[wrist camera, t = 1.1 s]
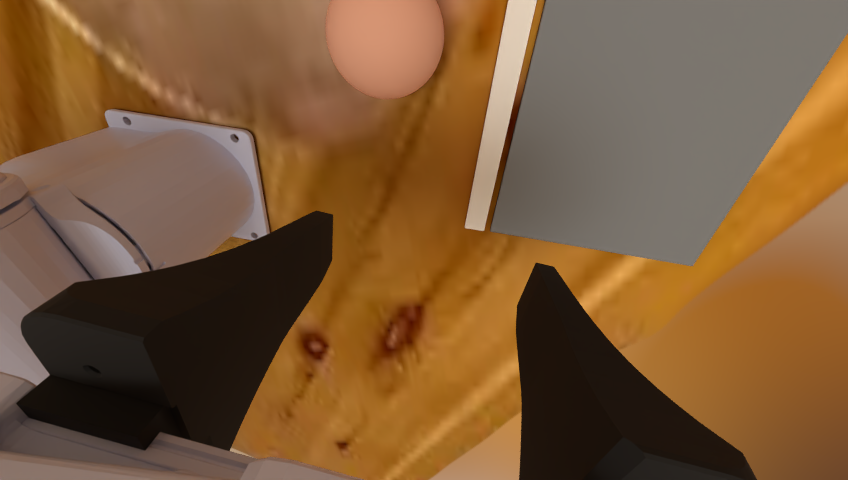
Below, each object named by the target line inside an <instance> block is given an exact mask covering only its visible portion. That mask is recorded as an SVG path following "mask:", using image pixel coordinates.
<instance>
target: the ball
mask: <svg viewBox="0 0 848 480" xmlns="http://www.w3.org/2000/svg"><path fill="white" fill-rule="evenodd" d="M326 40H327V45H328V49H329V52H330V55H331V58H332V60H333V62H334V64H335V66H336V68H337V69H338V71H339V72H340V74H341V75H342V76H343V77H344V78H345V80H346V81H347V82H348V83H349V84H351V85H352V86H353V87H354V88H356V89H357V90H359V91H360V92H362V93H364V94H366V95H369V96H371V97H375V98H379V99H396V98H401V97H404V96H407V95H409V94H411V93H413V92H415V91H417V90H418V89H419V88H421V87H422V86H423V85H424V84H425V83H426V82H427V81H428V80H429V79H430V77H431V76H432V75H433V73H434V71H435V70H436V68H437V65H438V63H439V61H440V58H441V54H442V51H443V45H444V25H443V19H442V15H441V11H440V8H439V6H438V3H437V1H436V0H331V1H330V4H329V7H328V11H327V15H326Z"/></svg>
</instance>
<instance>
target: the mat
mask: <svg viewBox="0 0 848 480" xmlns="http://www.w3.org/2000/svg"><path fill="white" fill-rule="evenodd" d="M536 2H537V0H508V4H507V9H506V14H505V19H504V24H503V30H502V35H501V40H500V45H499V50H498V56H497V61H496V66H495V71H494V76H493V82H492V87H491V92H490V97H489V103H488V108H487V113H486V118H485V123H484V129H483V134H482V139H481V144H480V149H479V155H478V160H477V165H476V170H475V175H474V181H473V186H472V191H471V196H470V201H469V207H468V212H467V217H466V222H465V228H468V229H474V230H480V231H484V229H485V224H486V220H487V215H488V211H489V207H490V202H491V198H492V194H493V189H494V185H495V181H496V176H497V172H498V168H499V163H500V159H501V155H502V150H503V146H504V142H505V137H506V133H507V128H508V124H509V120H510V115H511V111H512V107H513V102H514V98H515V94H516V89H517V85H518V81H519V76H520V72H521V68H522V63H523V59H524V55H525V50H526V46H527V42H528V37H529V33H530V28H531V24H532V20H533V15H534V11H535V7H536ZM847 33H848V0H545V4H544V8H543V12H542V16H541V20H540V24H539V29H538V33H537V37H536V41H535V45H534V49H533V53H532V58H531V62H530V66H529V70H528V74H527V78H526V83H525V87H524V91H523V95H522V99H521V103H520V107H519V112H518V116H517V120H516V124H515V128H514V132H513V136H512V141H511V145H510V149H509V153H508V157H507V161H506V166H505V170H504V174H503V178H502V182H501V186H500V190H499V195H498V199H497V203H496V207H495V211H494V215H493V220H492V224H491V228H490V231H491V232H497V233H502V234H508V235H514V236H520V237H526V238H532V239H537V240H543V241H549V242H555V243H561V244H566V245H572V246H578V247H584V248H590V249H596V250H601V251H607V252H613V253H619V254H625V255H631V256H636V257H642V258H648V259H654V260H660V261H666V262H671V263H677V264H683V265H689V266H693V265H694V263H695V262H696V260H697V259H698V257H699V256H700V254H701V252H702V251H703V249H704V248H705V246H706V245H707V243H708V242H709V240H710V239H711V237H712V236H713V234H714V233H715V231H716V230H717V228H718V227H719V225H720V224H721V222H722V221H723V219H724V218H725V216H726V215H727V213H728V212H729V210H730V209H731V207H732V206H733V204H734V203H735V201H736V200H737V198H738V197H739V195H740V194H741V192H742V191H743V189H744V188H745V186H746V185H747V183H748V182H749V180H750V179H751V177H752V176H753V174H754V173H755V171H756V170H757V168H758V167H759V165H760V164H761V162H762V161H763V159H764V158H765V156H766V155H767V153H768V152H769V150H770V149H771V147H772V146H773V144H774V143H775V141H776V140H777V138H778V137H779V135H780V134H781V132H782V131H783V129H784V128H785V126H786V125H787V123H788V122H789V120H790V119H791V117H792V116H793V114H794V113H795V111H796V110H797V108H798V107H799V105H800V104H801V102H802V101H803V99H804V98H805V96H806V95H807V93H808V92H809V90H810V89H811V87H812V86H813V84H814V83H815V81H816V80H817V78H818V77H819V75H820V74H821V72H822V71H823V69H824V68H825V66H826V65H827V63H828V62H829V60H830V59H831V57H832V56H833V54H834V53H835V51H836V50H837V48H838V47H839V45H840V44H841V42H842V41H843V39H844V38H845V36H846V35H847Z"/></svg>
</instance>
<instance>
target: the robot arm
mask: <svg viewBox="0 0 848 480" xmlns="http://www.w3.org/2000/svg"><path fill="white" fill-rule="evenodd" d="M105 118H106V120H107V123H108V125H109V127H108V128H105V129H102V130H99V131H96V132H93V133H90V134H86V135H83V136H80V137H77V138H74V139H71V140H68V141H65V142H62V143H59V144H55V145H52V146H49V147H46V148H43V149H40V150H37V151H34V152H31V153H28V154H24V155H21V156H18V157H15V158H13V159H11V160H9V161H6V162H5V163H3V164H1V165H0V480H363V479H360V478H356V477H352V476H349V475H345V474H342V473H338V472H334V471H331V470H327V469H323V468H320V467H316V466H313V465H309V464H305V463H302V462H298V461H294V460H289V459H282V458H276V457H268V458H263V459H256V458H252V457H248V456H245V455H241V454H237V453H234V452H230V448H231V446H232V444H233V442H234V439H235V437H236V435H237V433H238V430H239V428H240V426H241V423H242V421H243V419H244V417H245V415H246V413H247V411H248V409H249V406H250V404H251V402H252V400H253V398H254V396H255V394H256V392H257V390H258V388H259V386H260V384H261V382H262V380H263V378H264V376H265V374H266V372H267V370H268V368H269V366H270V364H271V362H272V360H273V358H274V356H275V354H276V352H277V350H278V349H279V347H280V345H281V343H282V341H283V339H284V338H285V336H286V335H287V333H288V331H289V330H290V328H291V327H292V325H293V324H294V322H295V321H296V319H297V318H298V317H299V315H300V314H301V312H302V311H303V309H304V308H305V306H306V305H307V303H308V302H309V300H310V299H311V297H312V296H313V294H314V293H315V291H316V290H317V288H318V287H319V285H320V284H321V282H322V280H323V278H324V276H325V274H326V272H327V270H328V268H329V266H330V263H331V261H332V236H333V215H332V214H328V213H324V212H320V211H315V212H312V213H310V214H308V215H306V216H304V217H302V218H300V219H298V220H296V221H294V222H292V223H290V224H288V225H286V226H284V227H282V228H279V229H277V230H275V231H273V232H271V233H270V231H269V225H268V220H267V214H266V208H265V202H264V196H263V191H262V185H261V179H260V173H259V167H258V162H257V156H256V150H255V144H254V139H253V136H252V134H251V133H250V132H249V131H247V130H244V129H238V128H232V127H225V126H219V125H213V124H206V123H200V122H194V121H187V120H181V119H175V118H168V117H162V116H156V115H149V114H143V113H136V112H130V111H124V110H117V109H110V110H107V111H106V112H105ZM128 118H129V119H130V120H129V119H128ZM130 121H131V122H130ZM234 134H235V135H237V136H238V138H239V140H237V139H236V138H235V136H234ZM255 233H256V234H257V235H256V234H255ZM230 236H232V237H237V238H242V239H248V240H253V241H251V242H248V243H246V244H244V245H241V246H238V247H236V248H233V249H230V250H228V251H225V252H222V253H219V254H216V255H213V256H209V255H210V254H211V253H212V252H213V251H215V250H216V249H217V248H218V247H219V246H220V245H221V244H222V243H224V242H225V241H226V240H227V239H228V238H229V237H230ZM208 256H209V257H208ZM516 338H517V350H518V361H519V372H520V382H521V397H522V422H521V423H522V425H521V455H520V475H519V480H757V479H756V477H755V475H754V473H753V471H752V469H751V468H750V466H749V464H748V462H747V460H746V458H745V457H744V455H743V453H742V452H740V451H739V450H737V449H736V448H735V447H733V446H732V445H731V444H729V443H728V442H726V441H725V440H724V439H722V438H721V437H719V436H718V435H717V434H715V433H714V432H712V431H711V430H709V429H708V428H707V427H705V426H704V425H703V424H701V423H700V422H698V421H697V420H696V419H694V418H693V417H692V416H691V415H689V414H688V413H687V412H686V411H684V410H683V409H682V408H681V407H679V406H678V405H677V404H675V403H674V402H673V401H672V400H671V399H670V398H668V397H667V396H666V395H665V394H663V393H662V392H661V391H660V390H659V389H657V387H655V386H654V385H653V384H652V383H651V382H650V381H649V380H648V379H647V378H646V377H644V376H643V375H642V374H641V373H640V372H639V371H638V370H637V369H636V368H635V367H634V366H633V365H632V364H631V363H630V362H628V360H627V359H626V358H625V357H624V356H623V355H622V354H621V353H620V352H619V351H618V350H617V349H616V348H615V347H614V345H613V344H612V343H611V342H610V341H609V340H608V339H607V338H606V336H605V335H604V334H603V333H602V332H601V330H600V329H599V328H598V327H597V326H596V324H595V323H594V322H593V321H592V319H591V318H590V317H589V316H588V314H587V313H586V312H585V310H584V309H583V308H582V306H581V305H580V303H579V302H578V301H577V299H576V298H575V296H574V295H573V294H572V292H571V291H570V289H569V288H568V286H567V285H566V283H565V282H564V281H563V279H562V278H561V276H560V275H559V273H558V272H557V270H556V269H555V268H554V267H552V266H548V265H544V264H540V263H536V264H535V266H534V268H533V270H532V273H531V275H530V277H529V280H528V282H527V284H526V286H525V289H524V291H523V293H522V296H521V298H520V300H519V302H518V305H517V318H516Z"/></svg>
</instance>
